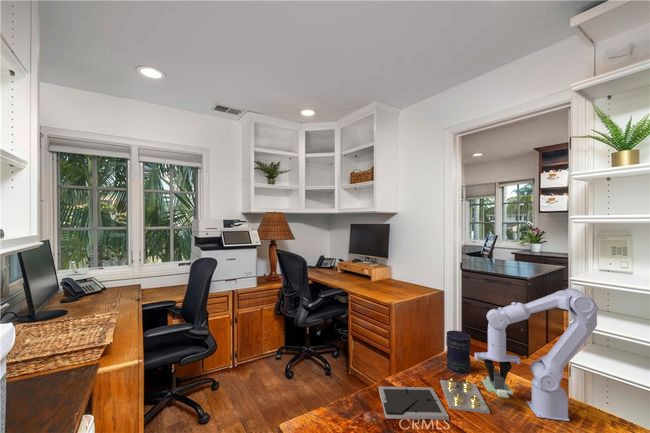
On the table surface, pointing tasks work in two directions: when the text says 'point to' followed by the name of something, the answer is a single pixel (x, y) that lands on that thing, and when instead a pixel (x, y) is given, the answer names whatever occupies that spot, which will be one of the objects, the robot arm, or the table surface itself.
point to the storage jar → (458, 352)
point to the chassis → (463, 396)
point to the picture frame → (411, 403)
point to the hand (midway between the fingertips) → (496, 380)
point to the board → (490, 388)
